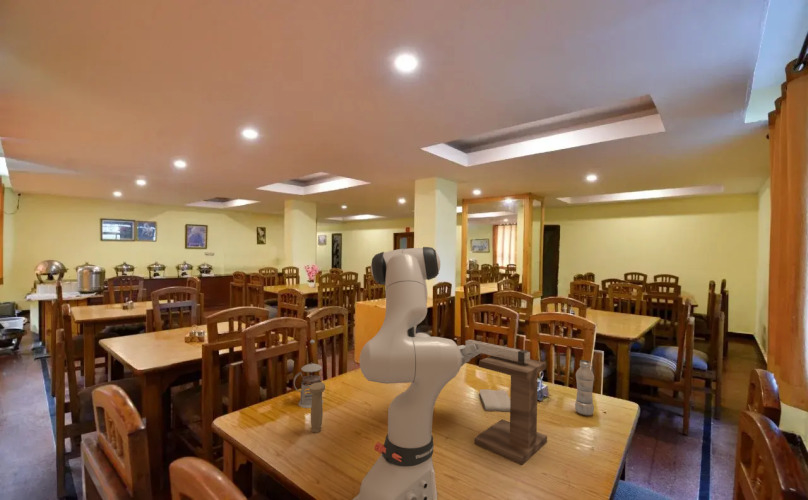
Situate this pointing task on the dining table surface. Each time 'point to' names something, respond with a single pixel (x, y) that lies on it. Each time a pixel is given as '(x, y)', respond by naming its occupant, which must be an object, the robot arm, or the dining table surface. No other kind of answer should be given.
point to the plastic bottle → (584, 389)
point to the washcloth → (495, 400)
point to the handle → (316, 406)
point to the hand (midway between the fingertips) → (479, 345)
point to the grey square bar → (500, 351)
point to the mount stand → (515, 412)
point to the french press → (307, 398)
